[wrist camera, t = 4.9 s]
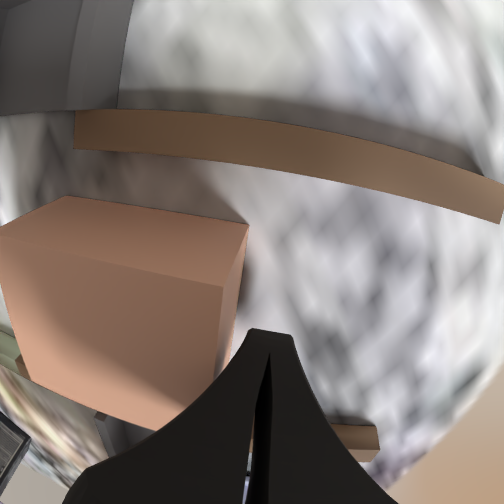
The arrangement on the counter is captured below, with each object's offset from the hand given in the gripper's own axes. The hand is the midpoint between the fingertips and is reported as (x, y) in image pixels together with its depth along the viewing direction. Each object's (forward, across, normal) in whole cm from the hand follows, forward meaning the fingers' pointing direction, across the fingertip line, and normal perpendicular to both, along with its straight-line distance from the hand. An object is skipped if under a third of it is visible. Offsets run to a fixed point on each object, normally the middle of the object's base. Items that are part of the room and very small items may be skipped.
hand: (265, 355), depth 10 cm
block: (+2, +5, 0) cm, 5 cm away
